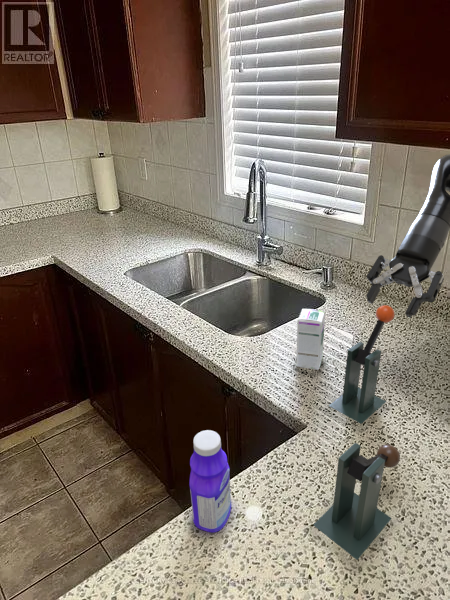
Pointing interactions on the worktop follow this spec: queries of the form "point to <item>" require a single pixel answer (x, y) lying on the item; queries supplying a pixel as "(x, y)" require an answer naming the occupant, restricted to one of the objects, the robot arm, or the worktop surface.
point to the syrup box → (310, 338)
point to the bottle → (209, 482)
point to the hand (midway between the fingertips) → (388, 308)
